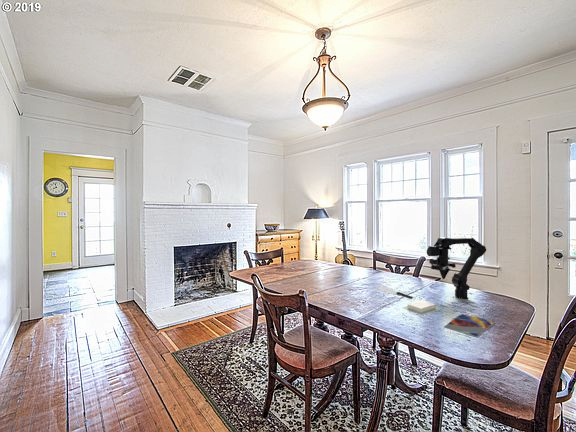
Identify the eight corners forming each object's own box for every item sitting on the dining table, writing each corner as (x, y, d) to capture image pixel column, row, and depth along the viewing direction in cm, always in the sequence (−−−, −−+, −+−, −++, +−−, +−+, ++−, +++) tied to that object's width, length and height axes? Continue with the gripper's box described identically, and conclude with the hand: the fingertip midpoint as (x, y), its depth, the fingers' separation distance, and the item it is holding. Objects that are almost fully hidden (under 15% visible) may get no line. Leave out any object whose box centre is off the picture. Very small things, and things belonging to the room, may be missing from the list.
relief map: (477, 339, 132) (477, 334, 132) (443, 328, 144) (443, 324, 144) (494, 324, 148) (494, 320, 148) (462, 316, 160) (462, 312, 160)
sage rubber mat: (422, 302, 182) (422, 301, 182) (443, 309, 169) (443, 308, 169) (401, 308, 172) (401, 307, 172) (422, 315, 160) (422, 315, 160)
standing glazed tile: (422, 300, 177) (407, 304, 171) (435, 304, 169) (420, 308, 163) (422, 304, 177) (407, 308, 171) (435, 308, 170) (420, 313, 163)
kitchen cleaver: (373, 287, 215) (383, 284, 219) (373, 289, 215) (383, 286, 219) (403, 299, 186) (414, 296, 190) (403, 302, 186) (415, 298, 190)
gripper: (440, 253, 201) (440, 274, 201) (423, 255, 192) (423, 278, 192) (456, 255, 191) (455, 277, 192) (439, 257, 182) (439, 281, 183)
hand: (443, 278), depth 190 cm, fingers closed
